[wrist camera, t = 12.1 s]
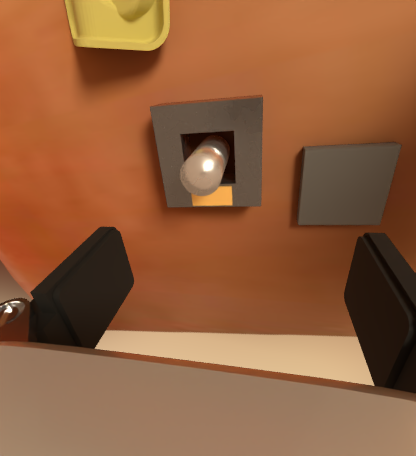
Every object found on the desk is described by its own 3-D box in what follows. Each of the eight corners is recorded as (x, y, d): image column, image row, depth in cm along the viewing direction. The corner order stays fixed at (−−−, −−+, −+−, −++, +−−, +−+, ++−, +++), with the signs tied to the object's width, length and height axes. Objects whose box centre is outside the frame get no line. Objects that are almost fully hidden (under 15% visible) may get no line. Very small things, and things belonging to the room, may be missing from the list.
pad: (395, 142, 30) (401, 145, 28) (375, 219, 34) (379, 225, 33) (303, 146, 31) (305, 149, 30) (296, 219, 36) (298, 224, 35)
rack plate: (262, 94, 29) (262, 97, 26) (260, 193, 35) (261, 207, 32) (161, 103, 32) (148, 107, 28) (175, 195, 37) (167, 208, 34)
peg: (229, 134, 32) (219, 154, 24) (230, 166, 34) (222, 195, 25) (197, 136, 33) (177, 156, 24) (200, 167, 35) (182, 196, 26)
